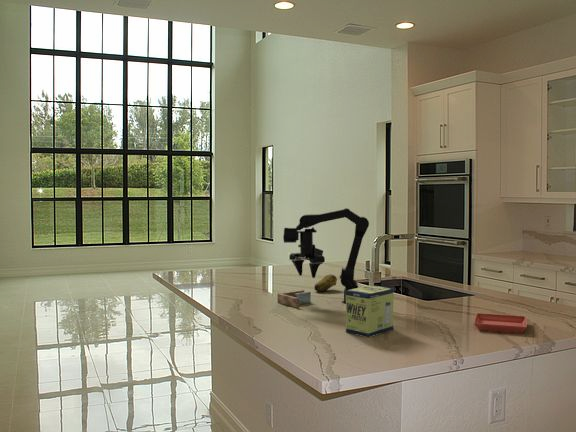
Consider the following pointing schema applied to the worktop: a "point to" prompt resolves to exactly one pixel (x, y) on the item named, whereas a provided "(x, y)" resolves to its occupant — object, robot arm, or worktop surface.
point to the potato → (325, 283)
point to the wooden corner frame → (289, 298)
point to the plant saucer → (500, 322)
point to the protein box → (369, 310)
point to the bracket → (304, 297)
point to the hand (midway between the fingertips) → (307, 276)
